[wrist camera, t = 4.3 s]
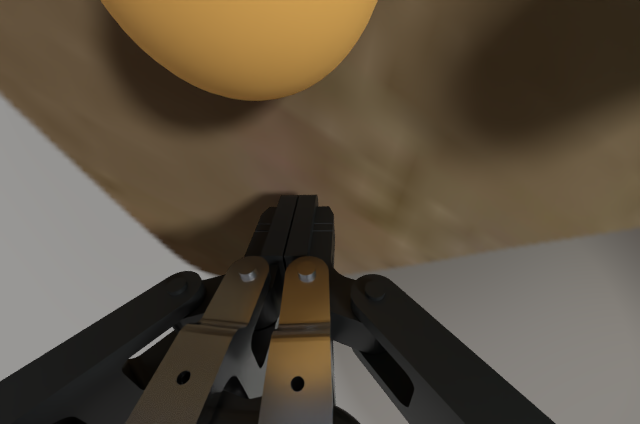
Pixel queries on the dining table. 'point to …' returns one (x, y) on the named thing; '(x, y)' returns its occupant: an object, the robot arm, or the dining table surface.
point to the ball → (245, 41)
